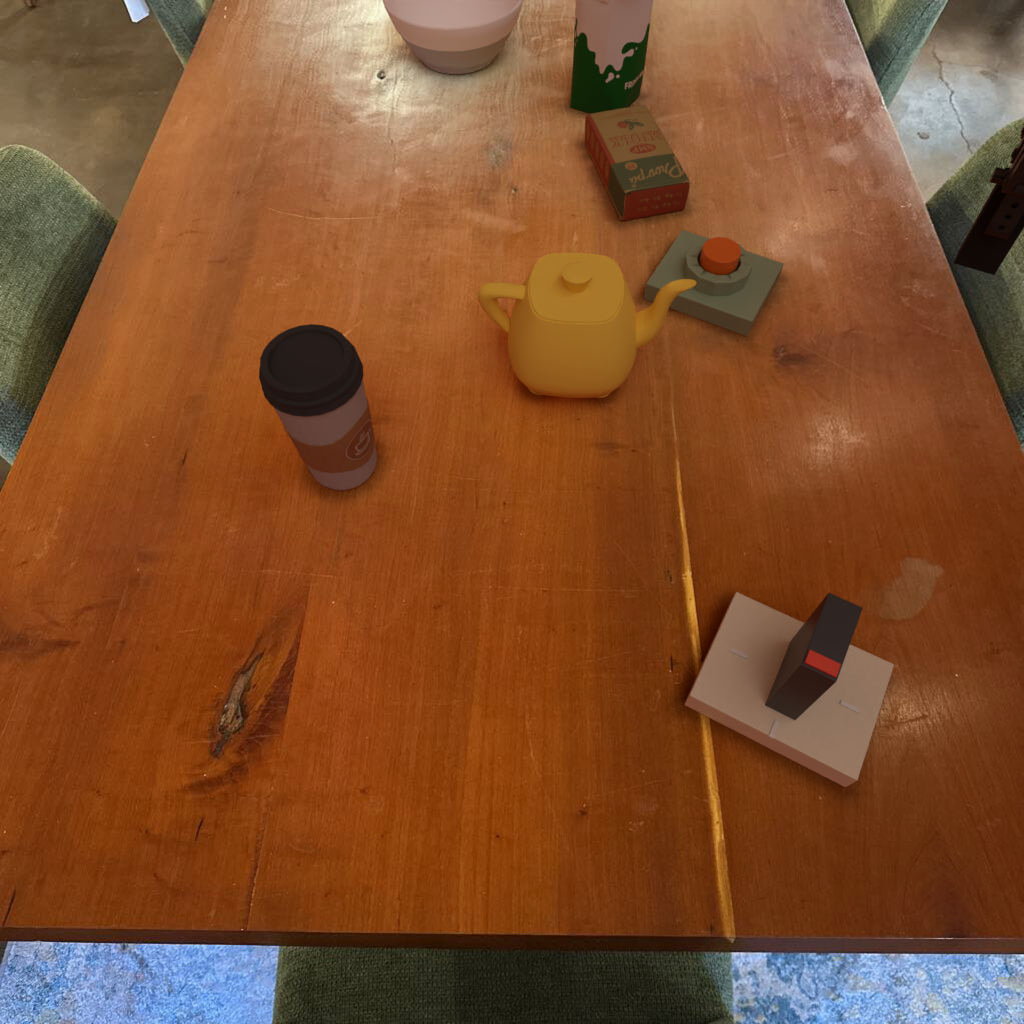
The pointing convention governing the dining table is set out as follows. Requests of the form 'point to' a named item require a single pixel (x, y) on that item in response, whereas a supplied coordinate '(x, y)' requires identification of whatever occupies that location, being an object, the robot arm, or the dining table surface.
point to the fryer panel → (750, 677)
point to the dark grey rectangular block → (814, 656)
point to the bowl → (454, 30)
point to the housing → (716, 285)
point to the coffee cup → (321, 402)
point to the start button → (720, 256)
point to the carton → (635, 163)
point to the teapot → (576, 324)
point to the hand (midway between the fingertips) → (976, 262)
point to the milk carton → (609, 53)
